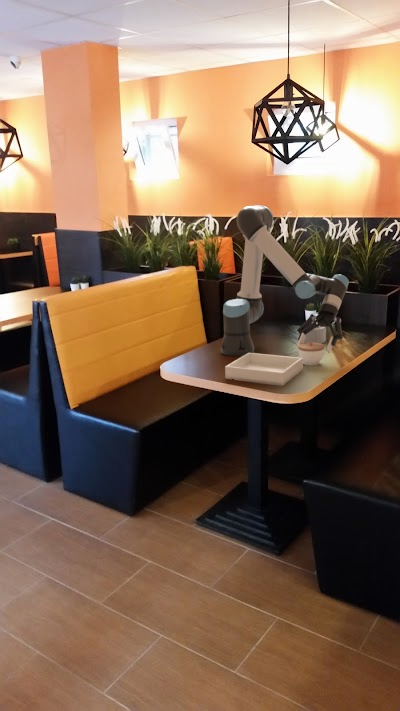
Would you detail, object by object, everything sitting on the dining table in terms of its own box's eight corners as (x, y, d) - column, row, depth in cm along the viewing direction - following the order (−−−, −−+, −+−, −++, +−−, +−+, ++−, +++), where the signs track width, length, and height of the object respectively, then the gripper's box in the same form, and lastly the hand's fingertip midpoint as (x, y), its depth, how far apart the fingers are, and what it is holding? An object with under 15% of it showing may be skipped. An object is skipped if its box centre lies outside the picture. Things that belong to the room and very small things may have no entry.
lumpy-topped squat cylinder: (301, 343, 281) (301, 325, 279) (306, 336, 293) (306, 319, 291) (323, 344, 278) (323, 326, 275) (327, 337, 289) (328, 320, 287)
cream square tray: (225, 378, 233) (225, 366, 232) (248, 363, 251) (248, 352, 250) (282, 385, 222) (282, 373, 220) (302, 369, 240) (302, 357, 239)
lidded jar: (324, 367, 242) (324, 345, 240) (297, 366, 244) (297, 344, 242) (323, 360, 252) (324, 338, 250) (298, 359, 254) (298, 338, 252)
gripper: (360, 315, 249) (343, 358, 241) (307, 310, 264) (290, 350, 257) (354, 304, 243) (338, 348, 236) (301, 300, 258) (283, 341, 251)
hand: (313, 349), depth 246 cm, fingers open, 13 cm apart
